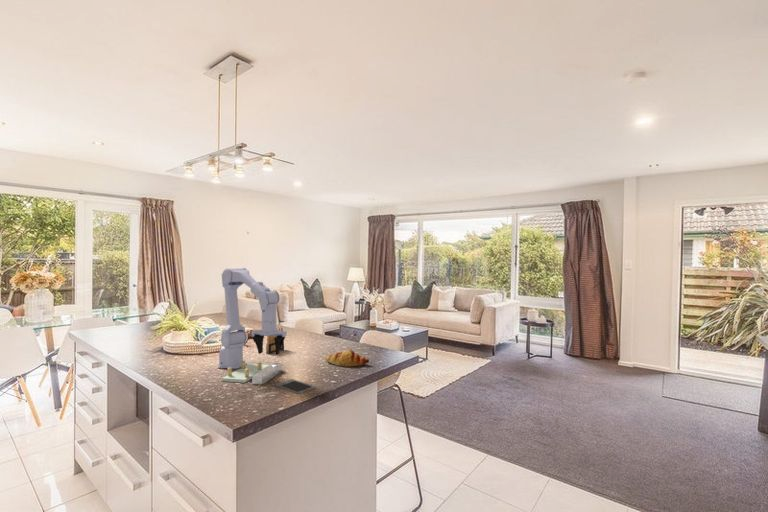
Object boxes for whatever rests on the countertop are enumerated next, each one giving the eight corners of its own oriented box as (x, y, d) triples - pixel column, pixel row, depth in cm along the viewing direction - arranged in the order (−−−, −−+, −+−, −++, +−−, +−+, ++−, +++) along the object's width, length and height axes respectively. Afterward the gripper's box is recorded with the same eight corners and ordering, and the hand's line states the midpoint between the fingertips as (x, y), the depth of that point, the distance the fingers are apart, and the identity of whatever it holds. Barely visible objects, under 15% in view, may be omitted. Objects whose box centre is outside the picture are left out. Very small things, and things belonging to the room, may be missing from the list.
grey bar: (263, 384, 139) (263, 376, 139) (250, 383, 140) (250, 376, 140) (284, 370, 157) (284, 363, 157) (273, 369, 158) (273, 362, 158)
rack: (221, 381, 143) (221, 370, 143) (249, 366, 163) (249, 357, 163) (244, 382, 141) (244, 372, 141) (270, 367, 161) (270, 358, 161)
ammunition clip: (268, 354, 183) (268, 330, 183) (266, 353, 184) (266, 330, 184) (284, 349, 192) (284, 327, 193) (281, 349, 193) (281, 326, 193)
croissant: (323, 371, 166) (319, 358, 163) (330, 356, 175) (327, 343, 171) (367, 374, 161) (364, 360, 157) (372, 358, 170) (370, 345, 166)
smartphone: (316, 388, 136) (316, 386, 136) (298, 395, 129) (298, 393, 129) (292, 380, 145) (292, 378, 145) (274, 386, 139) (274, 384, 139)
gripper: (247, 321, 146) (247, 355, 146) (280, 322, 144) (280, 356, 144) (256, 318, 153) (256, 350, 153) (288, 319, 151) (288, 352, 150)
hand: (269, 353), depth 149 cm, fingers open, 7 cm apart
